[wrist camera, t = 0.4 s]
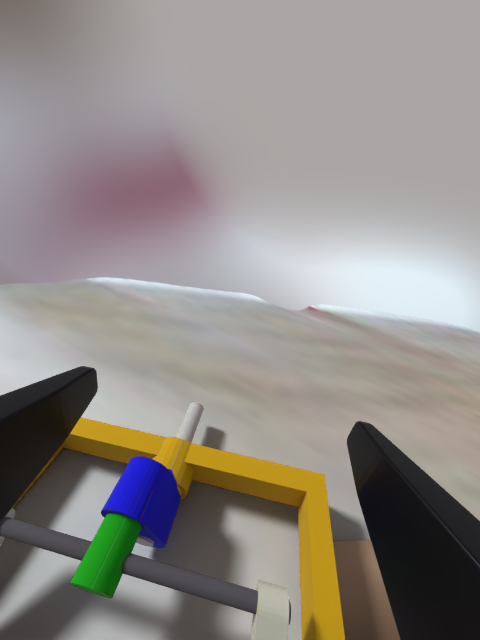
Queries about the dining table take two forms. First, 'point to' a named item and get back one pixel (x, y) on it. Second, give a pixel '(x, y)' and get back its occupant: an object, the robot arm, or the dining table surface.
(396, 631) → the post stand
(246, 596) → the yellow jointed frame
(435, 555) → the robot arm
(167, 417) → the dining table surface
